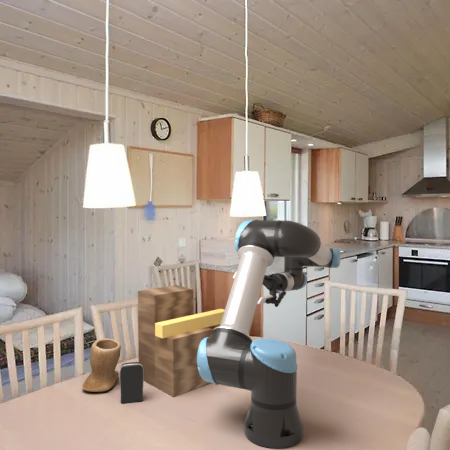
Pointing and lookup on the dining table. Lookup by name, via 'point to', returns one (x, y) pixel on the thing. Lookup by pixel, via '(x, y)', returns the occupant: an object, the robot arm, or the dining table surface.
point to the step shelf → (169, 341)
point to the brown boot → (103, 365)
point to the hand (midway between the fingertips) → (246, 287)
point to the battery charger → (131, 382)
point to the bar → (188, 323)
